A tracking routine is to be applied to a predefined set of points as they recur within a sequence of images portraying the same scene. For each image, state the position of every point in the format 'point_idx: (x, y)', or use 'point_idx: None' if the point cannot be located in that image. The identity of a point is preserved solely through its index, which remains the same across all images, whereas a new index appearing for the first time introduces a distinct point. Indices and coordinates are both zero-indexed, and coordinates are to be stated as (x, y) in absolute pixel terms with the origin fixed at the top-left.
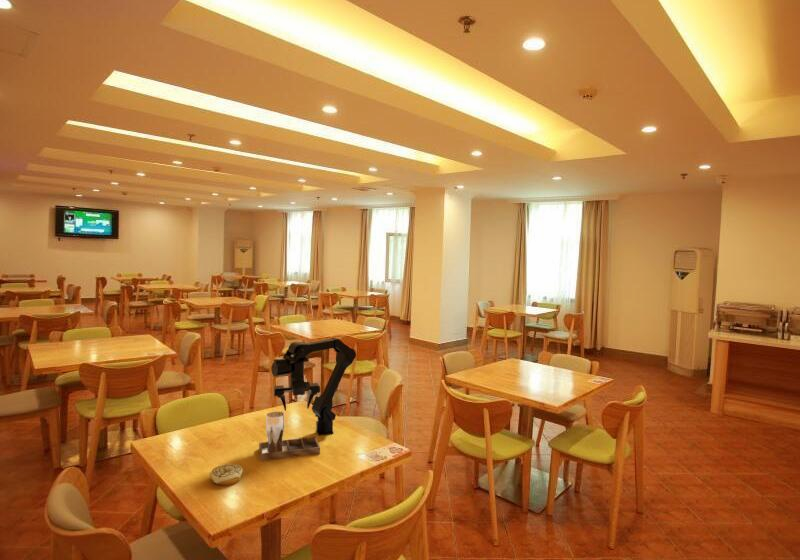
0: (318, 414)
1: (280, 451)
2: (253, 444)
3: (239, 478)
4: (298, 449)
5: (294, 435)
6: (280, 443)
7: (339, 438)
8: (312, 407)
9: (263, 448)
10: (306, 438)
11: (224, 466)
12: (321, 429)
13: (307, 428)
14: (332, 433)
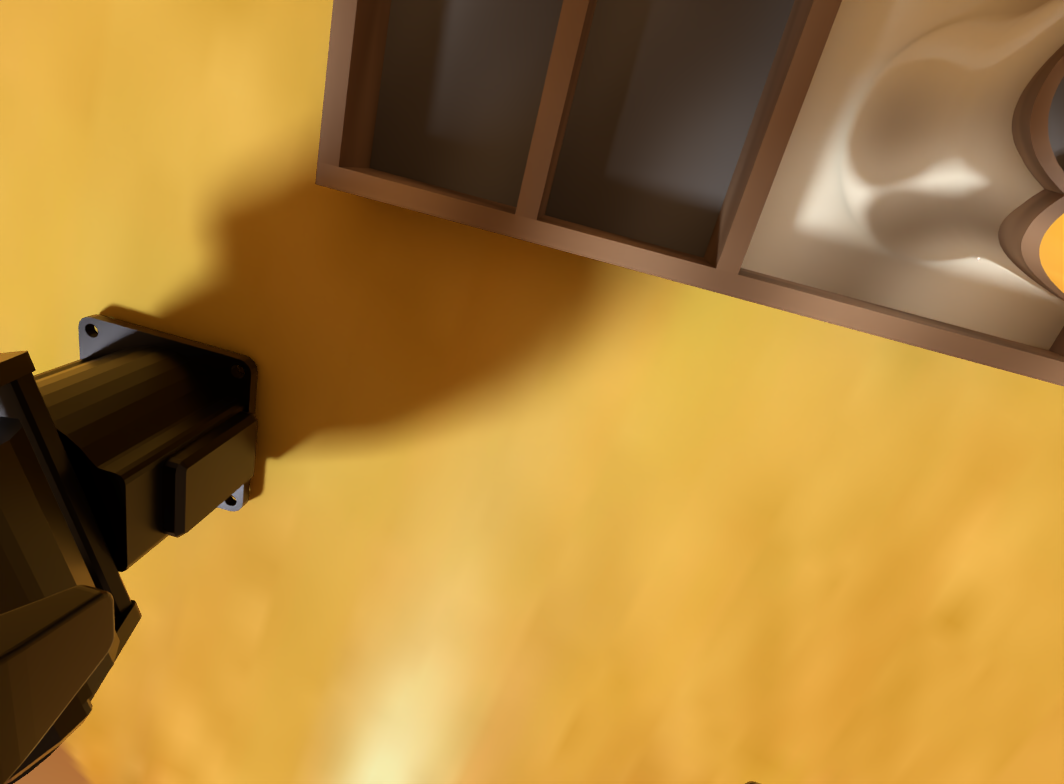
0: (24, 482)
1: (944, 29)
2: (1021, 523)
3: None
4: None
5: (507, 504)
6: (1012, 22)
7: (46, 145)
8: (49, 731)
9: (1019, 334)
10: (451, 198)
11: None
12: (186, 397)
13: (325, 588)
14: (99, 316)
